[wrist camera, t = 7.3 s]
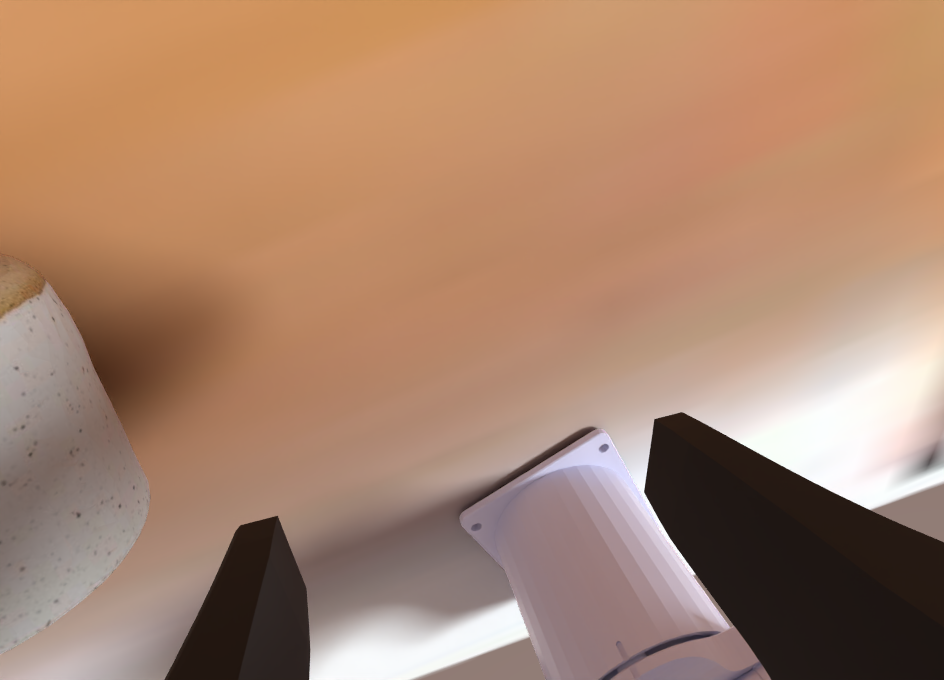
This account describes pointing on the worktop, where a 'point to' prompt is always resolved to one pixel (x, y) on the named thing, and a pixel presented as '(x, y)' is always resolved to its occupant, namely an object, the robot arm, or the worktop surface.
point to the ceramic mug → (56, 463)
